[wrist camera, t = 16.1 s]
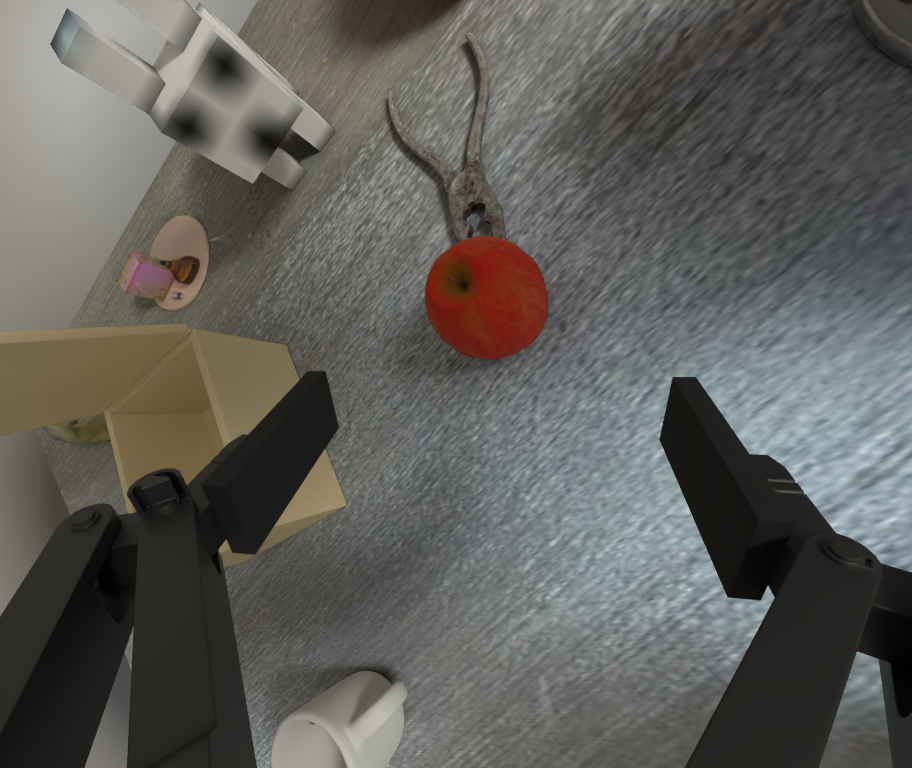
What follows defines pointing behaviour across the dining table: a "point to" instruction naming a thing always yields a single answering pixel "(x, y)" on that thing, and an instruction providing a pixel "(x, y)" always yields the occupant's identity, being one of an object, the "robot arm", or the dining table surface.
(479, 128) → the pliers
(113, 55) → the toy llama
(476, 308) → the apple
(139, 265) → the pink plate
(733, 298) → the dining table surface
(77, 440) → the sculpture
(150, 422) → the chest
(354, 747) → the cup
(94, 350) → the lid
